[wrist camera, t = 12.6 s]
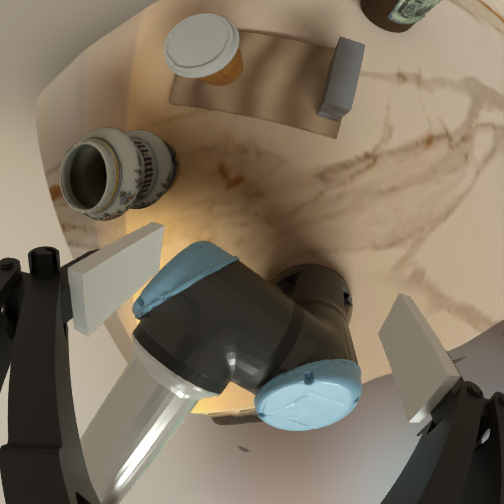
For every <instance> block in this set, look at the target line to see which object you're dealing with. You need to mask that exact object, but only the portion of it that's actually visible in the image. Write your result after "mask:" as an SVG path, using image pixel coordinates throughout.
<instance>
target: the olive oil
mask: <svg viewBox="0 0 504 504" xmlns="http://www.w3.org/2000/svg"><path fill="white" fill-rule="evenodd" d="M441 1H442V0H361V8H362V11H363V12H364V14H365V15H366V17H367V18H368V19H369V20H370V21H371V22H372V23H374V24H375V25H377V26H378V27H380V28H382V29H384V30H387V31H390V32H397V33H399V32H404V31H407V30H408V29H409V28H411V27H412V26H413V25H414V24H415V23H416V22H418V21H420V20H421V19H422V18H423V17H425V14H426V13H427V12H428V11H430V10H431V9H432V8H433V7H434V6H436V5H437V4H438V3H439V2H441Z"/></svg>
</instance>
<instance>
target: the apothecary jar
mask: <svg viewBox="0 0 504 504" xmlns="http://www.w3.org/2000/svg"><path fill="white" fill-rule="evenodd" d="M175 156H176V152H175V150H174V149H173V147H172V146H171V145H170V144H169V143H167V142H166V141H164V140H161V139H160V138H159V137H158V136H156V135H155V134H153V133H151V132H149V131H146V130H132V131H128V132H126V133H124V132H123V131H121V130H119V129H116V128H112V127H102V128H98V129H95V130H93V131H91V132H89V133H87V134H86V135H85V136H84V137H82V138H81V139H80V141H79V142H78V143H77V144H75V145H74V146H72V147H71V148H70V149H69V150H68V151H67V153H66V154H65V156H64V158H63V160H62V163H61V167H60V176H59V180H60V188H61V192H62V195H63V197H64V199H65V201H66V202H67V204H68V205H69V206H70V207H71V208H72V209H74V210H75V211H77V212H80V213H84V214H85V215H86V216H88V217H90V218H92V219H95V220H100V221H107V220H112V219H115V218H117V217H119V216H121V215H122V214H124V213H125V212H126V211H127V210H128V209H129V208H130V209H142V208H146V207H148V206H150V205H152V204H154V203H155V202H156V201H157V200H159V199H160V197H161V196H162V195H163V194H164V193H166V192H167V191H169V190H170V189H171V188H172V186H173V185H174V183H175V181H176V179H177V176H178V172H179V164H178V163H177V161H176V159H175Z"/></svg>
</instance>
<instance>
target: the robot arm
mask: <svg viewBox="0 0 504 504" xmlns="http://www.w3.org/2000/svg"><path fill="white" fill-rule="evenodd" d="M163 233H164V225H161V224H157V223H154V222H151V223H149V224H147V225H145V226H143V227H141V228H139V229H138V230H136V231H134V232H132V233H130V234H128V235H126V236H124V237H122V238H120V239H118V240H116V241H115V242H113V243H111V244H109V245H107V246H105V247H104V248H102V249H97V250H93V251H89V252H87V253H85V254H84V255H82V257H81V256H80V257H78V258H76V260H73V261H71V262H69V263H68V264H66V265H64V266H62V267H61V268H60V257H59V251H58V250H57V249H56V248H53V247H47V246H45V247H38V248H35V249H33V250H31V251H30V252H29V253H28V259H29V268H30V273H25V272H21V267H20V261H19V260H17V259H14V258H3V259H2V260H0V391H1V388H2V385H3V382H4V379H5V377H6V374H7V371H8V369H9V366H10V364H11V369H10V379H9V393H8V443H7V444H6V445H3V446H1V448H0V472H1V479H2V486H3V492H4V497H5V502H6V504H119V503H120V501H121V500H122V499H123V498H124V497H125V495H126V494H127V493H128V492H129V490H130V489H131V488H132V487H133V486H134V485H135V483H136V482H137V481H138V479H139V478H140V477H141V476H142V475H143V473H144V472H145V471H146V470H147V468H148V467H149V466H150V465H151V463H152V462H153V461H154V460H155V458H156V457H157V456H158V454H159V453H160V452H161V451H162V449H163V448H164V447H165V445H166V444H167V443H168V441H169V440H170V439H171V437H172V436H173V435H174V433H175V432H176V431H177V429H178V428H179V427H180V425H181V424H182V423H183V421H184V420H185V419H186V417H187V416H188V415H189V413H190V412H191V411H192V409H193V408H194V406H195V405H196V404H197V402H198V401H199V400H200V399H202V398H209V397H215V396H219V395H220V394H221V393H222V392H223V390H224V389H225V388H226V386H227V385H228V383H229V382H230V381H232V382H234V383H236V384H237V385H239V386H241V387H243V388H244V389H246V390H248V391H250V392H251V393H253V394H255V395H256V396H255V398H254V405H255V408H256V411H257V412H258V416H259V417H260V418H261V420H263V421H264V422H265V423H267V424H269V425H271V426H273V427H276V428H279V429H284V430H292V431H304V430H310V429H317V428H321V427H324V426H327V425H330V424H332V423H334V422H336V421H338V420H340V419H342V418H343V417H345V416H346V415H347V414H349V413H350V412H351V411H352V410H353V409H354V407H355V406H356V405H357V403H358V401H359V399H360V395H361V391H362V386H361V369H360V367H359V365H358V362H357V358H356V354H355V350H354V346H353V342H352V338H351V334H350V330H349V327H348V326H349V322H350V319H351V315H352V309H353V305H352V297H351V294H350V291H349V289H348V286H347V284H346V283H345V281H344V280H343V279H342V277H341V276H340V275H338V274H337V273H336V272H335V271H333V270H331V269H329V268H327V267H324V266H321V265H316V264H302V265H297V266H293V267H291V268H288V269H286V270H284V271H283V272H281V273H280V274H278V275H277V276H276V277H275V278H274V279H273V280H272V281H271V283H269V282H268V281H266V280H265V279H264V278H262V277H261V276H259V275H258V274H257V273H255V272H254V271H253V270H251V269H250V268H248V267H247V266H246V265H244V264H243V263H242V262H240V261H239V258H238V257H237V256H232V255H230V254H229V253H227V252H226V251H224V250H223V249H221V248H220V247H218V246H217V245H215V244H214V243H212V242H209V241H198V242H195V243H193V244H191V245H189V246H188V247H186V248H185V249H183V250H182V251H181V252H180V253H178V254H177V255H176V256H175V257H174V258H173V259H172V260H170V261H169V262H168V263H167V264H166V265H165V266H164V267H163V268H162V269H161V270H160V271H159V265H160V257H161V248H162V240H163ZM155 274H156V275H155ZM154 275H155V277H154V278H153V279H152V280H151V281H150V282H149V283H148V285H147V286H146V287H145V288H144V290H143V291H142V293H141V295H140V296H139V297H138V299H137V300H136V301H135V303H134V305H133V307H132V312H133V313H134V315H135V318H137V319H138V320H140V323H139V324H138V326H137V327H136V329H135V330H134V331H133V333H132V340H133V345H134V349H135V355H134V356H133V358H132V359H131V361H130V362H129V364H128V365H127V367H126V368H125V370H124V372H123V373H122V374H121V376H120V377H119V379H118V380H117V382H116V384H115V385H114V387H113V388H112V390H111V391H110V393H109V394H108V396H107V397H106V399H105V401H104V402H103V404H102V405H101V407H100V409H99V410H98V412H97V413H96V415H95V417H94V418H93V420H92V421H91V423H90V424H89V426H88V428H87V429H86V431H85V433H84V434H83V436H82V438H81V439H80V438H79V434H78V428H77V424H76V417H75V411H74V404H73V397H72V389H71V379H70V366H69V347H68V325H67V322H68V321H69V320H70V319H72V318H73V322H74V328H75V330H77V331H79V332H81V333H83V334H84V335H86V336H90V335H91V334H92V333H93V332H94V331H95V330H96V329H97V328H98V327H99V326H100V325H101V324H102V323H103V322H105V321H106V320H107V319H108V318H109V317H110V316H111V315H112V314H113V313H114V312H115V311H116V310H117V309H118V308H119V307H120V306H121V305H123V304H124V303H125V302H126V301H127V300H128V299H129V298H130V297H131V296H132V295H133V294H134V293H136V292H137V291H138V290H139V289H140V288H141V287H142V286H143V285H144V284H145V283H147V282H148V281H149V280H150V279H151V278H152V277H153V276H154ZM2 309H3V311H2V312H1V310H2ZM378 334H379V337H380V339H381V342H382V345H383V347H384V350H385V353H386V355H387V358H388V361H389V364H390V366H391V369H392V372H393V375H394V378H395V381H396V384H397V386H398V390H399V393H400V396H401V399H402V402H403V405H404V409H405V412H406V415H407V419H408V422H422V421H423V420H424V419H425V418H426V417H427V416H428V415H429V414H430V413H431V416H432V420H431V421H430V422H429V423H428V424H427V425H426V426H425V427H424V428H423V429H422V430H421V431H420V432H419V433H418V434H417V436H419V435H420V434H422V436H421V438H420V440H419V443H418V444H417V446H416V448H415V450H414V452H413V454H412V455H411V457H410V459H409V461H408V462H407V464H406V466H405V467H404V469H403V471H402V473H401V474H400V476H399V477H398V479H397V480H396V482H395V484H394V485H393V487H392V488H391V489H390V491H389V492H388V494H387V495H386V497H385V498H384V499H383V501H382V502H381V504H504V394H502V393H501V392H495V393H494V395H493V396H492V397H491V398H490V399H486V398H484V397H483V393H482V391H481V389H480V388H479V387H478V386H477V385H476V384H474V383H472V382H470V381H466V382H465V381H464V380H463V378H462V376H461V374H460V373H459V371H458V369H457V368H456V366H455V365H454V362H453V360H451V357H450V355H449V354H448V352H447V351H446V350H445V349H444V347H443V345H442V344H441V342H440V341H439V339H438V337H437V336H436V334H435V333H434V331H433V330H432V328H431V327H430V325H429V324H428V322H427V321H426V319H425V318H424V316H423V315H422V313H421V312H420V310H419V309H418V307H417V306H416V304H415V303H414V302H413V300H412V299H411V297H410V296H407V295H404V294H400V293H399V294H398V296H397V298H396V300H395V303H394V305H393V307H392V309H391V310H390V312H389V314H388V316H387V318H386V320H385V322H384V324H383V326H382V328H381V329H380V331H379V333H378ZM489 432H490V436H489V438H488V439H487V440H486V441H485V442H484V443H483V444H482V439H483V438H484V437H485V436H486V435H487V434H488V433H489Z"/></svg>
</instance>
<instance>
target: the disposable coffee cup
mask: <svg viewBox="0 0 504 504" xmlns="http://www.w3.org/2000/svg"><path fill="white" fill-rule="evenodd" d="M164 56H165V60H166V63H167V65H168V67H169V68H170V69H171V70H172V71H173V72H174V73H176V74H178V75H180V76H183V77H186V78H196V79H199V80H201V81H204V82H206V83H209V84H212V85H215V86H225V85H228V84H230V83H232V82H234V81H235V80H237V78H238V77H239V76H240V75H241V73H242V70H243V60H242V56H241V52H240V48H239V33H238V30H237V28H236V26H235V25H234V24H233V23H232V22H231V21H230V20H228V19H227V18H224V17H222V16H218V15H215V14H210V13H203V14H196V15H193V16H190V17H188V18H186V19H184V20H182V21H181V22H179V23H178V24H177V25H176V26H175V27H174V28H173V29H172V30H171V31H170V33H169V34H168V36H167V38H166V40H165V43H164Z"/></svg>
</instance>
